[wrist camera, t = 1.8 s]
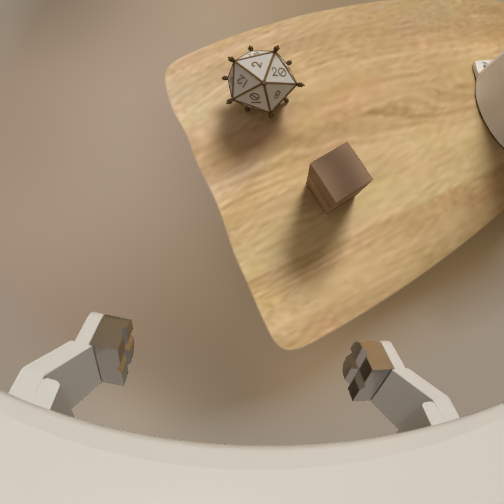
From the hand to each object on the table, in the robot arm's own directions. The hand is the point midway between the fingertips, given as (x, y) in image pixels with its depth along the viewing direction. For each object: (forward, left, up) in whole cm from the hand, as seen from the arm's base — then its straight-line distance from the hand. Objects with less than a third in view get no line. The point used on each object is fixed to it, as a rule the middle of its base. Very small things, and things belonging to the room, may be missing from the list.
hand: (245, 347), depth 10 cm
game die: (-10, -20, -23) cm, 32 cm away
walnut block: (-10, -6, -23) cm, 26 cm away
